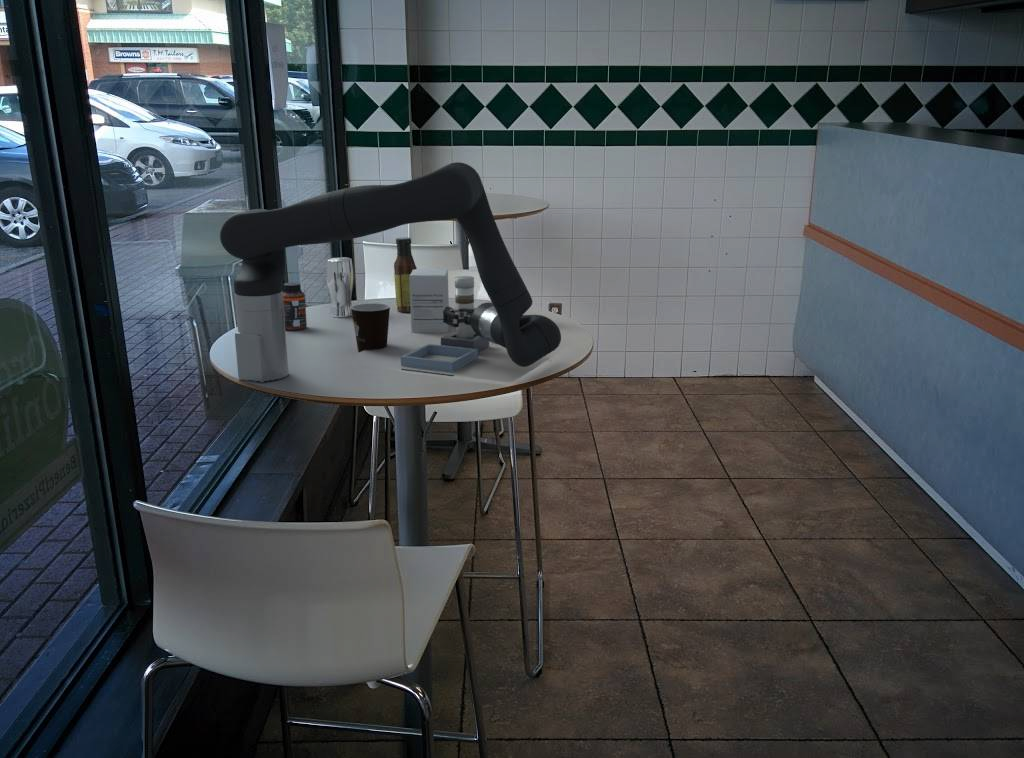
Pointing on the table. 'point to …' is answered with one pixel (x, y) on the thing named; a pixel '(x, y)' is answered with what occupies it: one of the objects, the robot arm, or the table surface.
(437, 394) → the table surface
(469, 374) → the table surface
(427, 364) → the parts tray
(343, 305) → the beer glass
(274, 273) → the robot arm
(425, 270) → the supplement box
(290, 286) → the supplement bottle
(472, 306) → the cylinder
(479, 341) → the box
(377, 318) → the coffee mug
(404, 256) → the sauce bottle
